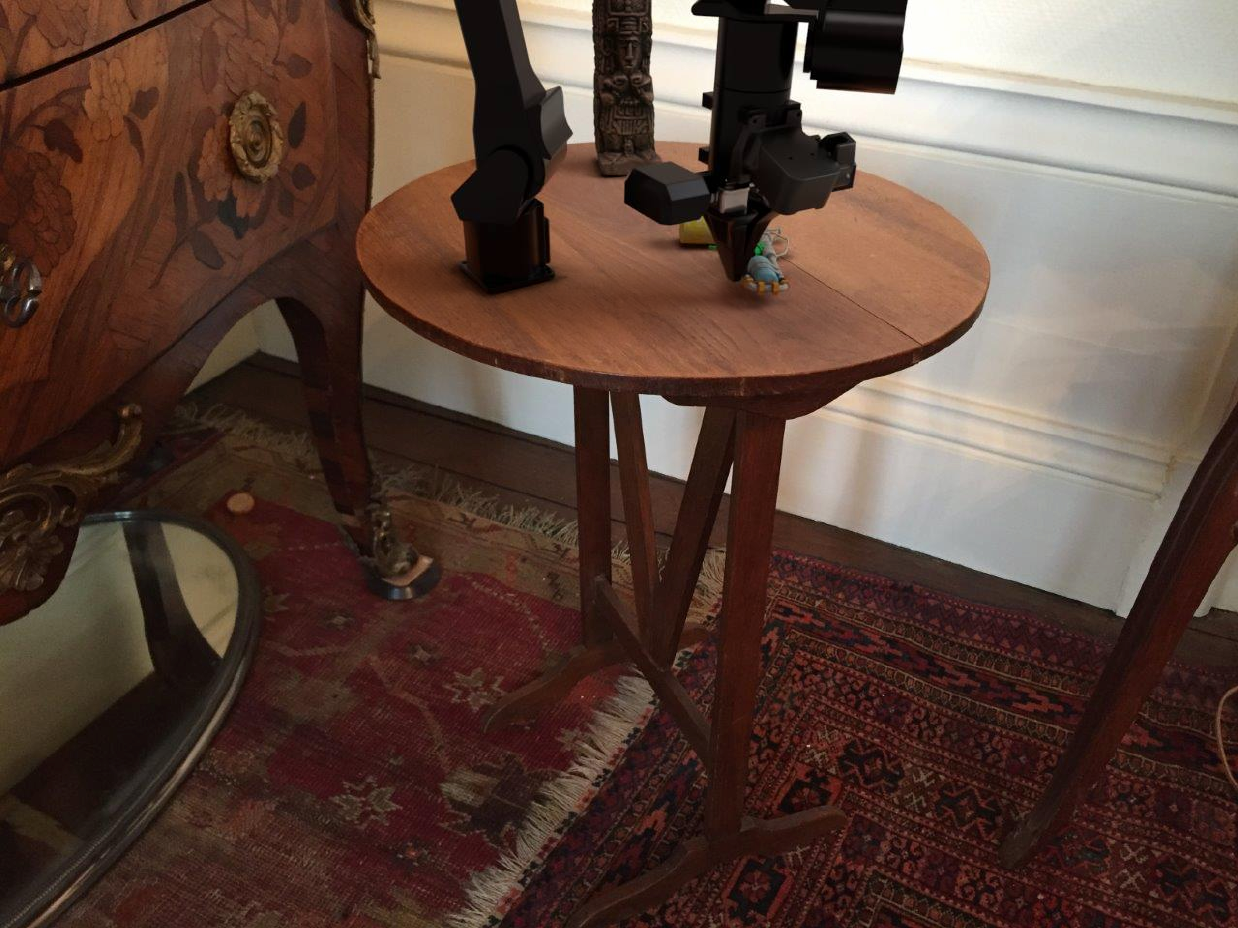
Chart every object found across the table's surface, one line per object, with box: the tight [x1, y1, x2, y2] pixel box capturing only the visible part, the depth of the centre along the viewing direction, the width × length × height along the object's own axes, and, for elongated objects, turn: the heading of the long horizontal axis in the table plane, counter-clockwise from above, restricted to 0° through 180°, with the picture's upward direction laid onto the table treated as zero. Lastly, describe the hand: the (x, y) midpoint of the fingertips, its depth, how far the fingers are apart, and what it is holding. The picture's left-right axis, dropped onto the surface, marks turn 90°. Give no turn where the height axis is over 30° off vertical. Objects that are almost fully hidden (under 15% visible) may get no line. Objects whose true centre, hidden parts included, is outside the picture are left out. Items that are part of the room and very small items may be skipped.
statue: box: [591, 0, 663, 176], centre depth 102 cm, size 7×7×20 cm
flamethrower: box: [678, 216, 791, 296], centre depth 90 cm, size 29×3×10 cm
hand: (733, 280), depth 80 cm, fingers closed
